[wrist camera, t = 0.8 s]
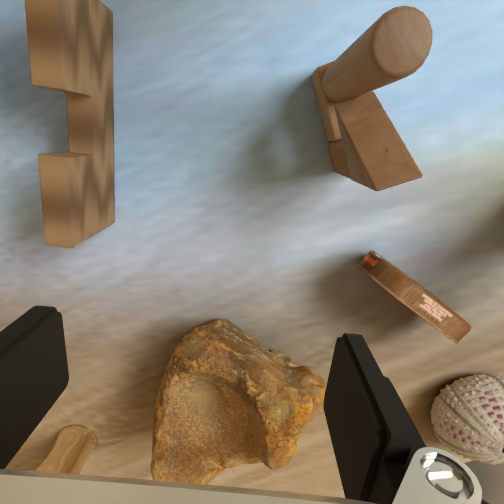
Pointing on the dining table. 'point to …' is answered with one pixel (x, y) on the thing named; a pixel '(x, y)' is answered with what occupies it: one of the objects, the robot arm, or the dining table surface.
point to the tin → (414, 297)
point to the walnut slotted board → (76, 115)
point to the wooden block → (371, 99)
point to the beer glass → (69, 451)
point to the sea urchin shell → (472, 417)
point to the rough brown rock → (229, 405)
